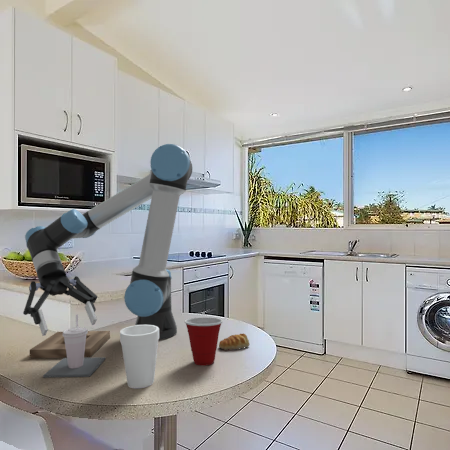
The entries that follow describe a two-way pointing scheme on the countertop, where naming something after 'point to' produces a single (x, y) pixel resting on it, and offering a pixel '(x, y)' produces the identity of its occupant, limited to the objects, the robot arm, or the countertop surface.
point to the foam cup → (139, 354)
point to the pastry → (234, 342)
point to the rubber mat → (83, 371)
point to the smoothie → (75, 345)
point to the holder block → (57, 349)
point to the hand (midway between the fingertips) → (71, 327)
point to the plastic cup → (203, 338)
